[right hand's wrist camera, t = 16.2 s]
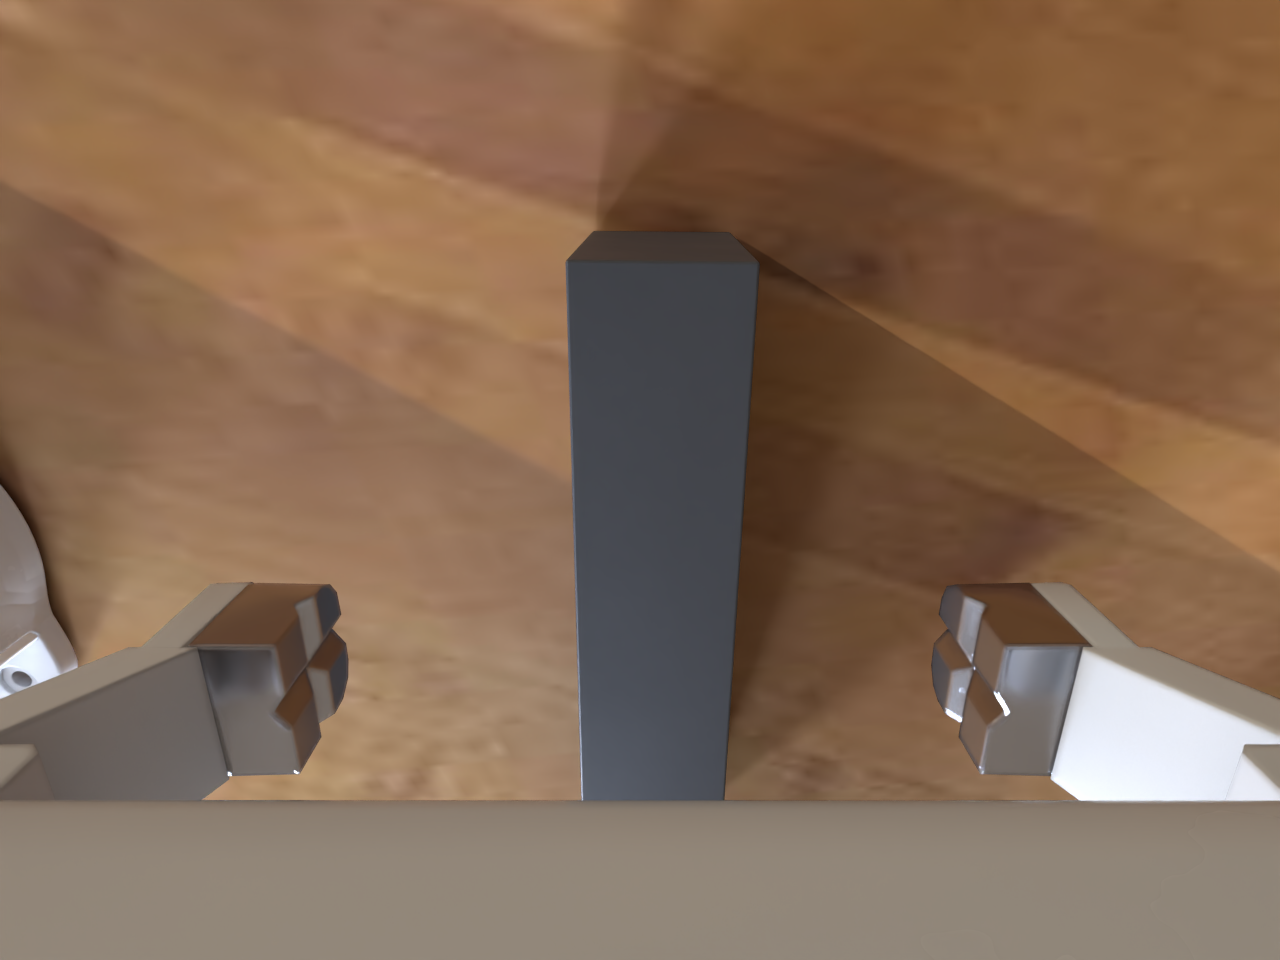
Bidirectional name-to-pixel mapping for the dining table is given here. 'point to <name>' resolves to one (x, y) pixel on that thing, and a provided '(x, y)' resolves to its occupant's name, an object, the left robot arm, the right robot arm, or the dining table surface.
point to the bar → (658, 503)
